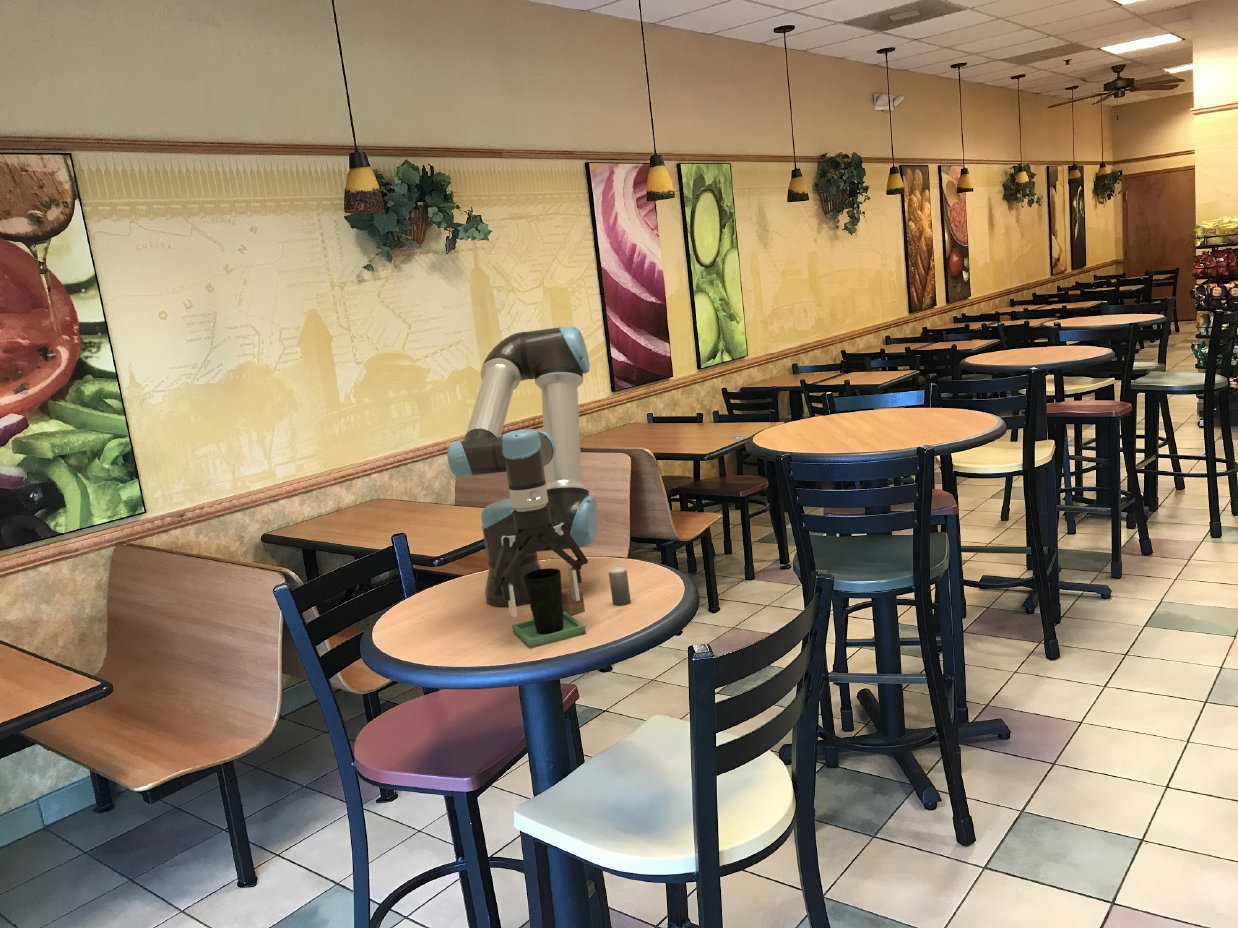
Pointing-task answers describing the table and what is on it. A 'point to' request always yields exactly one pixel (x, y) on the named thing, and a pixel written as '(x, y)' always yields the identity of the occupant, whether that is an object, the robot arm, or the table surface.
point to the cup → (545, 599)
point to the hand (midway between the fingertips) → (545, 607)
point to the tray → (533, 639)
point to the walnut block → (572, 602)
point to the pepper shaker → (619, 586)
